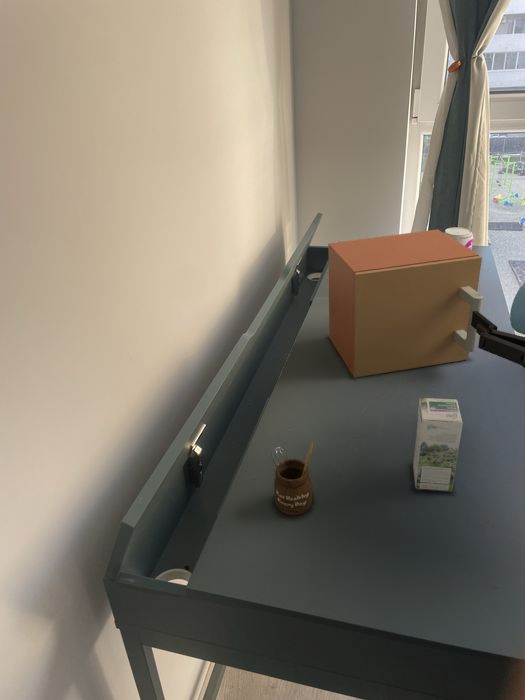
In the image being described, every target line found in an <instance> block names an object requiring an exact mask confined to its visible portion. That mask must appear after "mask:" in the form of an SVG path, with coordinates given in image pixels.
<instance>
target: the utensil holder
mask: <svg viewBox="0 0 525 700" xmlns="http://www.w3.org/2000/svg"><path fill="white" fill-rule="evenodd" d="M313 446H314V442H313V441H311V442H310V446H309V449H308V451H307V454H306V460H305V461H303V460H301V459H298V458H289V457H288V454H287V452H286V450H285V449H284V447H282V448H281V447H280V446H277V447H275V450H278V451H279V453H280V454H282V452H281V450H282V451H283V452H284V454H285V457H284V456H283V455H280V456H281V459H282V460H281V462H280V461H279V459H278V458H279V457H278V455H276V457H275V458H274V457H273V455H275V451H271V453H270V454H271V460H272V462H273V464H274V466H275V467H276V468H275V471H274V472H275V474H274V475H275V476H274V481H273V490H274V501H275V505H276V507H277V509H278V510H279V512H282V513H283V514H285V515H288V516H298V515H303V514H305V513H307V511H308V510H310V508H311V507H312V504H313V480H312V477H311V475H310V468H309V466H308V464H309V463H310V459H311V456H312V452H313V448H314V447H313ZM285 458H286V459H285ZM275 459H276V460H277V462H278V463H277V464H275Z"/></svg>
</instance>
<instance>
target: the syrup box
mask: <svg viewBox="0 0 525 700" xmlns="http://www.w3.org/2000/svg"><path fill="white" fill-rule="evenodd" d="M463 424H464V422H463V419H462V414H461V409H460V407H459V402H458V399H454V398H432V397H431V398H430V397H429V398H428V397H419V401H418V409H417V419H416V431H415V441H414V450H413V451H414V453H413V461H412V468H413V477H414V487H415V490H418V491H419V490H420V491H434V492H445V493H447V492H449V493H452V492H453V487H454V481H455V475H456V467H457V462H458V456H459V451H460V450H459V449H460V443H461V438H462V430H463Z"/></svg>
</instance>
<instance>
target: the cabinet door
mask: <svg viewBox="0 0 525 700" xmlns="http://www.w3.org/2000/svg"><path fill="white" fill-rule="evenodd" d="M482 263H483V257H482V256H481V255H479V256H475V257H468V258H460V259H453V260H446V261H438V262H431V263H424V264H416V265H409V266H402V267H394V268H387V269H380V270H372V271H365V272H357V273H355V282H354V345H353V375H352V376H353V378H355V379H356V378H361V377H368V376H374V375H379V374H386V373H392V372H393V373H394V372H398V371H405V370H411V369H416V368H417V369H418V368H423V367H430V366H436V365H443V364H449V363H455V362H456V363H457V362H461V361H468V359H469V353H473V352H475V351H476V347H477V340H478V335H479V334H478V333H477V332H476V329H475V328H474V327H472V326H471V320H472V313H473V311H478V312H479V313H480V314H482V306H483V299H484V296H483V295H482V294H481V293H480V292H478V290H479V283H480V275H481V270H482Z"/></svg>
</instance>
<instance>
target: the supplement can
mask: <svg viewBox="0 0 525 700" xmlns="http://www.w3.org/2000/svg"><path fill="white" fill-rule="evenodd" d="M443 233H444V234H446V235H448V236H449V237H451V238H453V239H454V240H456V241H457V242H459V243H461V244H462V245H464V246H466V247H467V248H469V249H470V250H472V251H473V242H474V235H473V231H472V230H471V229H470V228H466V227H459V226H457V227H454V226H453V227H448V228H446V229H445V230H444V232H443Z"/></svg>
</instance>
